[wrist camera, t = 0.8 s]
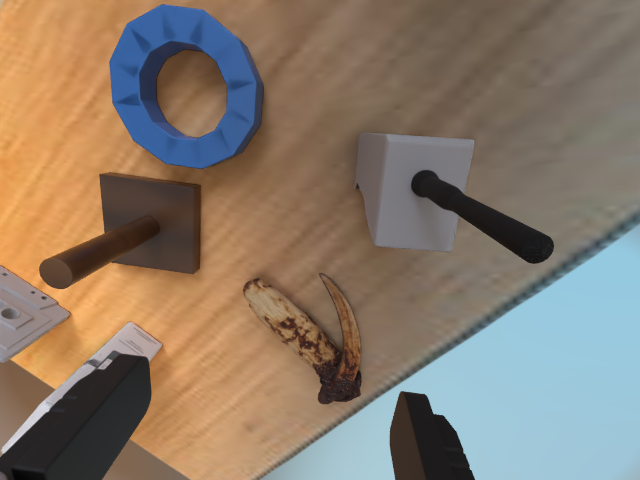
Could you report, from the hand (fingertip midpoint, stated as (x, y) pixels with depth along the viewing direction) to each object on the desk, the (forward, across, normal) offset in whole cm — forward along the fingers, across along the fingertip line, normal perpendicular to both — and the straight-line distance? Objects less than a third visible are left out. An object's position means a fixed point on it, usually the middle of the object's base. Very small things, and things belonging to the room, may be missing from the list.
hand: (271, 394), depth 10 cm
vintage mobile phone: (+23, -5, -6) cm, 24 cm away
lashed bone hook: (+23, -2, +12) cm, 26 cm away
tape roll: (+23, +12, -9) cm, 27 cm away
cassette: (+23, +32, +13) cm, 41 cm away
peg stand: (+23, +16, +3) cm, 28 cm away
